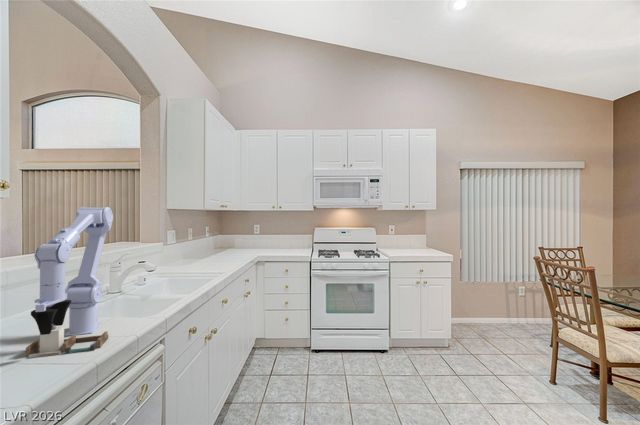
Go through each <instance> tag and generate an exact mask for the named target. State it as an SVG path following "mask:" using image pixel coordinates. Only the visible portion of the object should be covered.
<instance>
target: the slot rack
mask: <svg viewBox="0 0 640 425" xmlns="http://www.w3.org/2000/svg"><path fill="white" fill-rule="evenodd" d="M108 332H109V331H107V330H106V331H104V332H103V333H102V334H101V335H92V336H83V337H76V336H77V335H72V336H70V337H68V338H64V343H63V347H62V351H61V350H59V351H53V352H44V353H40V352H38V353H36V352H37V351H38V350H40V338H38V339H36V340H35V341H33V342H32V343H31V344H29V345H28V346H26V347H25V357H26V358H28V359H33V358H41V357H49V356H57V355H60V354H61V353H65V354H72V353H73V354H74V353H84V352H90V351H95V350H96V348H97V349H101V348H102V346H103V345H104V344H105V343H106V342H107V340H108V339H109V333H108ZM92 341H93V342H94V341H96V343H92V344H90V345H89V346H90V347H89V346H88V347H81V348H72V347H73V346H75V344H77V343H85V342H86V343H87V342H92Z"/></svg>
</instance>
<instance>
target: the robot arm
mask: <svg viewBox="0 0 640 425" xmlns="http://www.w3.org/2000/svg"><path fill="white" fill-rule="evenodd" d="M113 220H114V215H113V211H112V209H111V208H110V207H109V206H103V207H92V206H91V207H86V206H80V207H79V208H78V209H77V210H76V211H75V219H73V221H72V222H71V224H70V225H69V226H68V227H64V228H61V229H60V230H59V231H58V232H57V233H56V234H55V235H54V236H53V237H52V238H51V239H50V240H49V241H48V242H47V243H42V244H41V245H39V246H38V247H37V248H36V249H35V253H34V254H33V255H34V260H35V261H36V264H37V268H38V269H39V298H38V299H37V298H36V299H35V300H34V303H35V308H34V309H33V310H31V311H30V316H31V317H32V318H33V319H34V321H35V322H36V325H37V328H38V331H39V335H40V334H41V335H46V334H50V333H51V331H52V325H56V327H62V326H63V324H64V321H65V319H66V314H67V311H69V313H68V314H69V315H68V318H69V319H68V329H69V330H68V331H67V332H66V333H64V337H69V336H70V337H71V336H72V335H76V336H78V335H80V336H81V335H88V334H93V333H94V332H95V331H96V330H97V329H98V328H99V327H100V326H101V325H102V323H101V322H100V323H99V307H98V303H99V302H100V301H101V298H102V296H103V282H101V281H100V280H99V279H98V278H96V276H97V272H98V268H99V264H100V260H101V256H102V252H103V248H104V244H105V240H106V236H107V233H108V232H110V231H111V228H112V225H113ZM82 232H85V233H88V238H87V241H86V245H85V249H84V253H83V256H82V260H81V263H80V267H79V270H78V273H77V274H78V275H77V276H76V277H74V278H73V279H71V280H69V281H68V283H67V285H66V262H67V261H68V260H70V257H71V253H72V251H73V247H74V246H75V245H76V244H77V243H78V242H79V241H80V239H81V235H80V234H81V233H82ZM68 308H69V310H68Z"/></svg>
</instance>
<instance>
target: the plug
mask: <svg viewBox="0 0 640 425" xmlns="http://www.w3.org/2000/svg"><path fill="white" fill-rule="evenodd" d="M64 334H65V326H63V325H62V326H56V325H52V331H51V333H50V334H46V335H41V334H40V333H39V339H40V349H39V353H45V352H54V351H61V349H63V343H64V339H65V336H64Z"/></svg>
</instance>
